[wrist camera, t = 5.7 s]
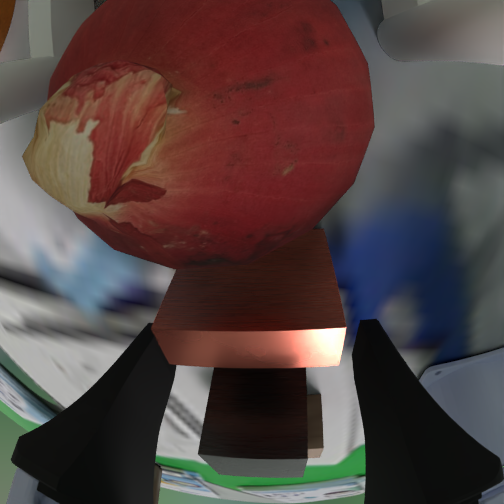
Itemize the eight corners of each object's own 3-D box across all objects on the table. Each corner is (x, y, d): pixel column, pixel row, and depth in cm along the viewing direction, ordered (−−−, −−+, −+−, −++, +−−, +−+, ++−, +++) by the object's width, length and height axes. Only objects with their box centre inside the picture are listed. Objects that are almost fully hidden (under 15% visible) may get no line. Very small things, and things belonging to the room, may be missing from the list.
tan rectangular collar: (321, 394, 17) (323, 448, 14) (318, 408, 18) (319, 457, 15) (228, 395, 18) (220, 447, 15) (233, 409, 19) (227, 456, 16)
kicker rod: (323, 225, 10) (360, 412, 4) (305, 427, 21) (305, 502, 15) (193, 232, 11) (123, 402, 5) (249, 427, 21) (241, 501, 16)
